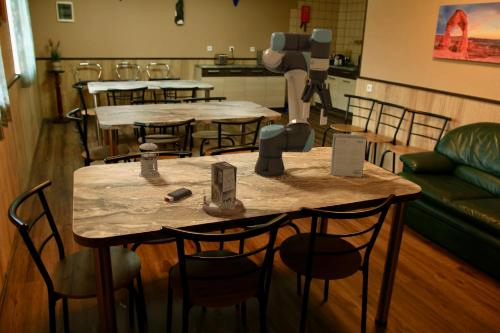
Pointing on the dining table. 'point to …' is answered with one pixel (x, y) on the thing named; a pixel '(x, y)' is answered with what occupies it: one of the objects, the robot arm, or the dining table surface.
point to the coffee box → (223, 184)
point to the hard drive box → (348, 154)
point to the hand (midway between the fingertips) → (314, 121)
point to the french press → (149, 160)
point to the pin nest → (217, 211)
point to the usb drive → (177, 194)
